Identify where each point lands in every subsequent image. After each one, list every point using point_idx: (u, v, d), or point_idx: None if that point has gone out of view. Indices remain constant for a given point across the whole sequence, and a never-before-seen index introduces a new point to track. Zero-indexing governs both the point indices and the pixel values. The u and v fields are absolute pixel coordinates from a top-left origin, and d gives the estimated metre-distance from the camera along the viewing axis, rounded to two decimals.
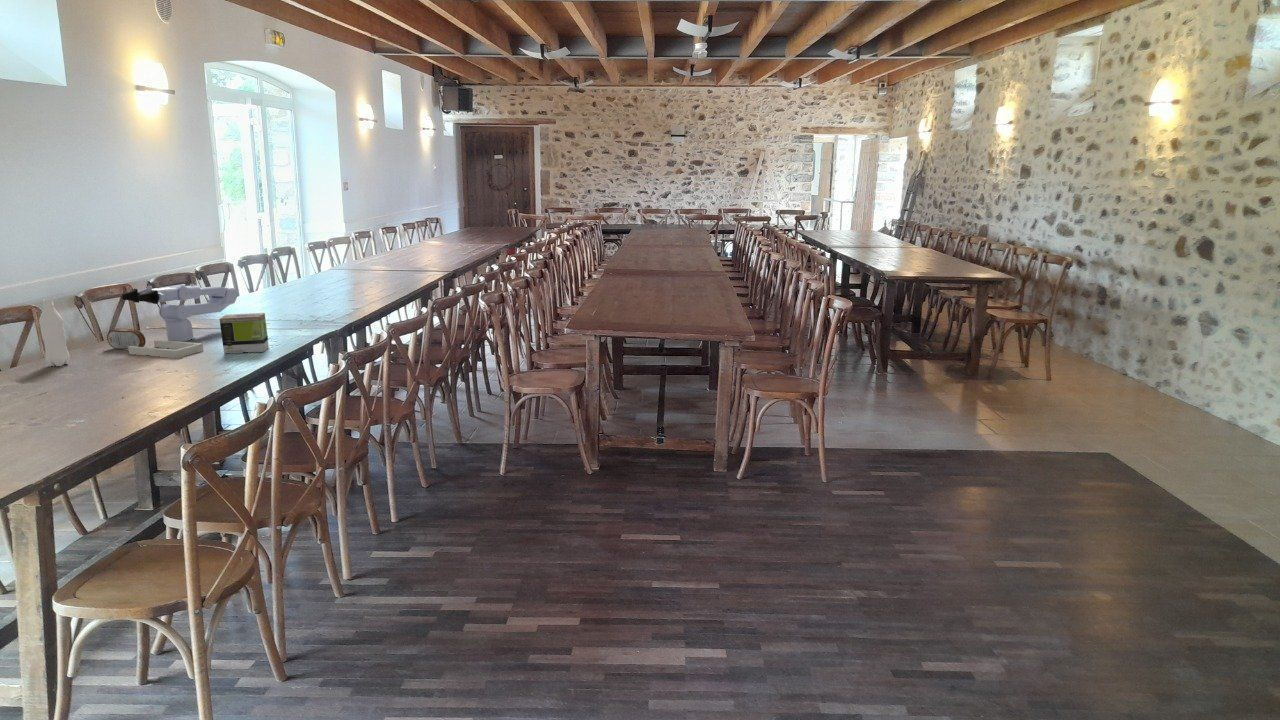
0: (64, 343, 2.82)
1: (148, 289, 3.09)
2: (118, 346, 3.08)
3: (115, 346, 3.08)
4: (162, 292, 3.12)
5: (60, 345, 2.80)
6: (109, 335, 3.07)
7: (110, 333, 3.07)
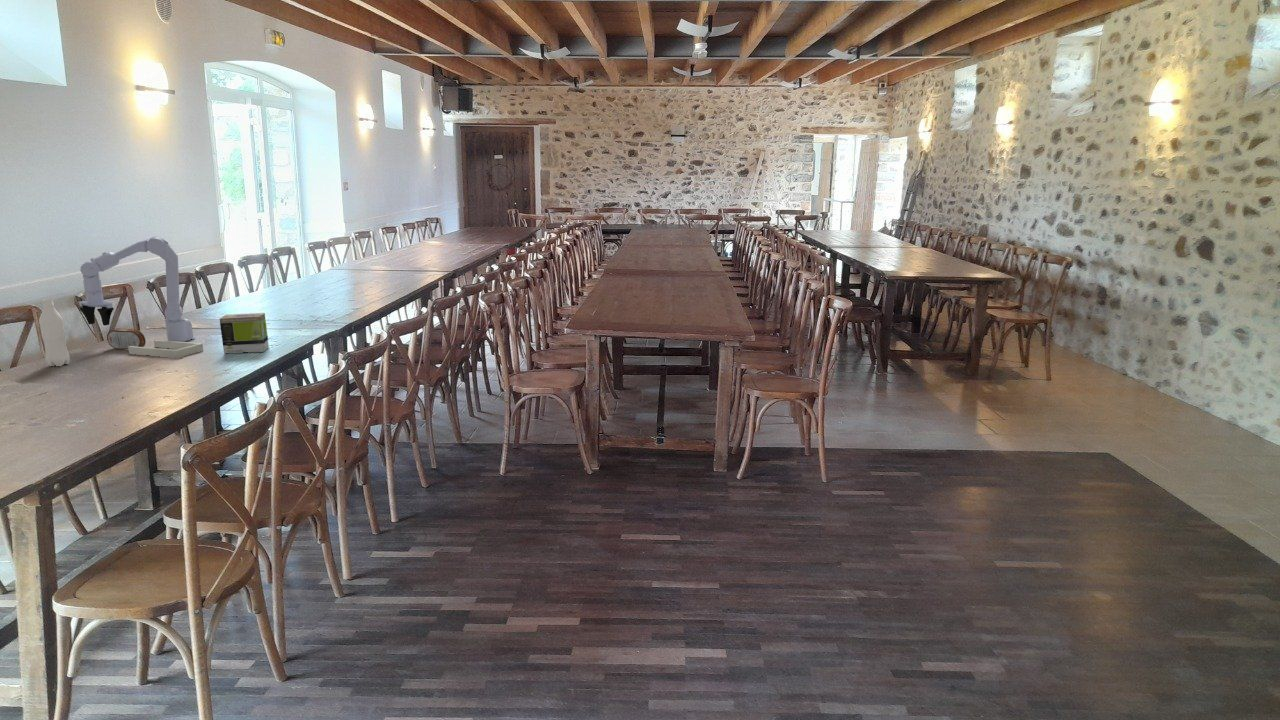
0: (64, 343, 2.82)
1: (89, 305, 3.05)
2: (118, 346, 3.08)
3: (115, 346, 3.08)
4: (96, 294, 3.05)
5: (60, 345, 2.80)
6: (109, 335, 3.07)
7: (110, 333, 3.07)
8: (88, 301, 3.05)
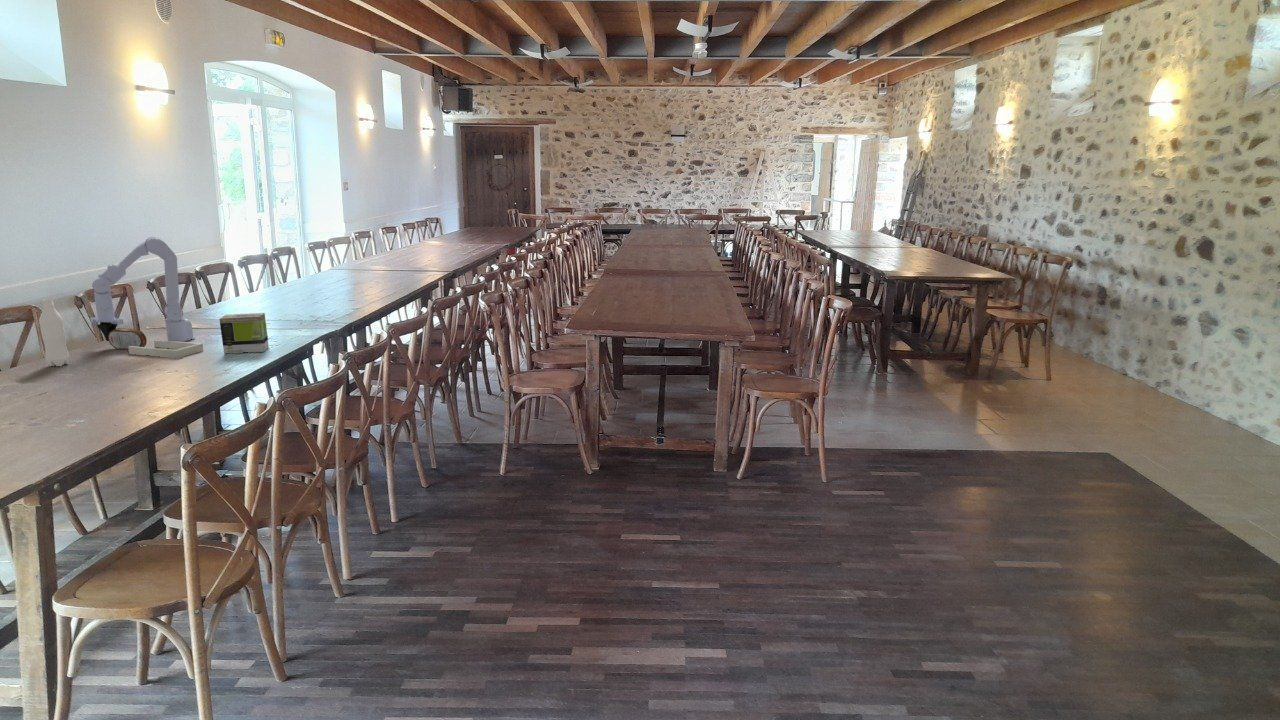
0: (64, 343, 2.82)
1: (100, 321, 3.06)
2: (119, 346, 3.08)
3: (116, 346, 3.08)
4: (107, 311, 3.05)
5: (60, 345, 2.80)
6: (110, 335, 3.07)
7: (111, 333, 3.06)
8: (99, 318, 3.05)
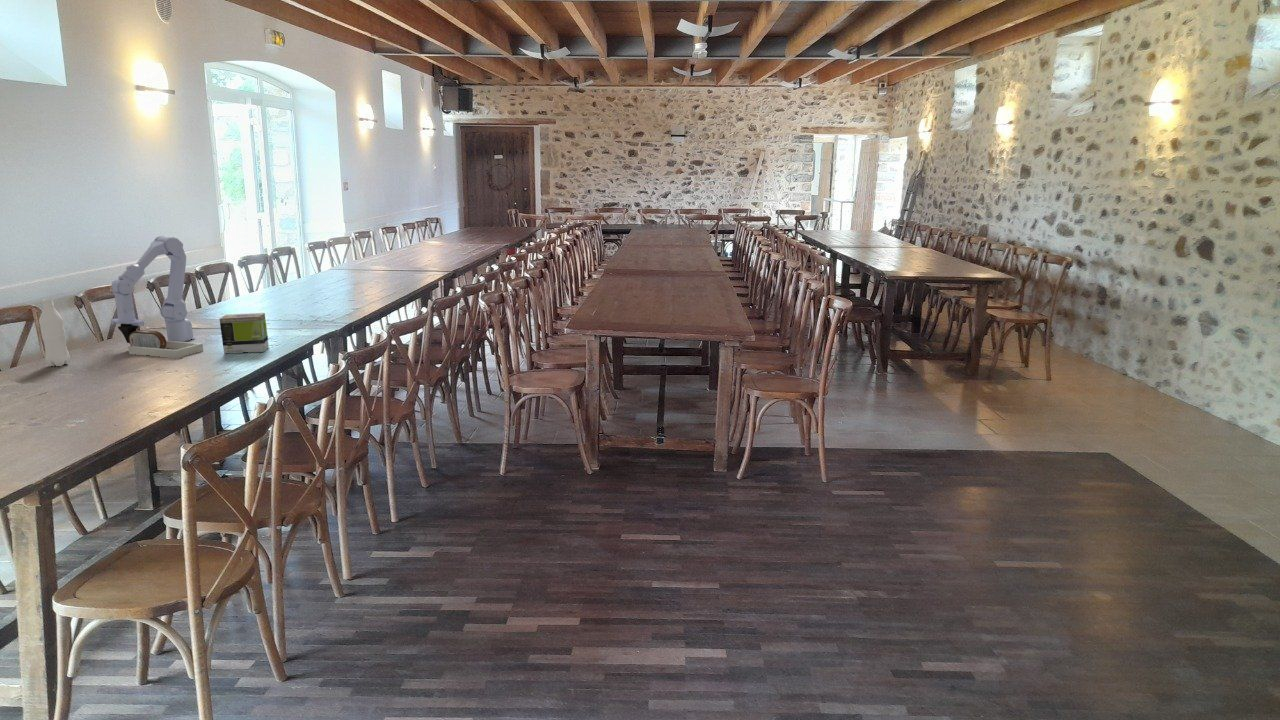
0: (64, 343, 2.82)
1: None
2: None
3: None
4: (128, 312, 3.03)
5: (60, 345, 2.80)
6: (131, 337, 3.04)
7: (132, 335, 3.04)
8: (120, 319, 3.03)
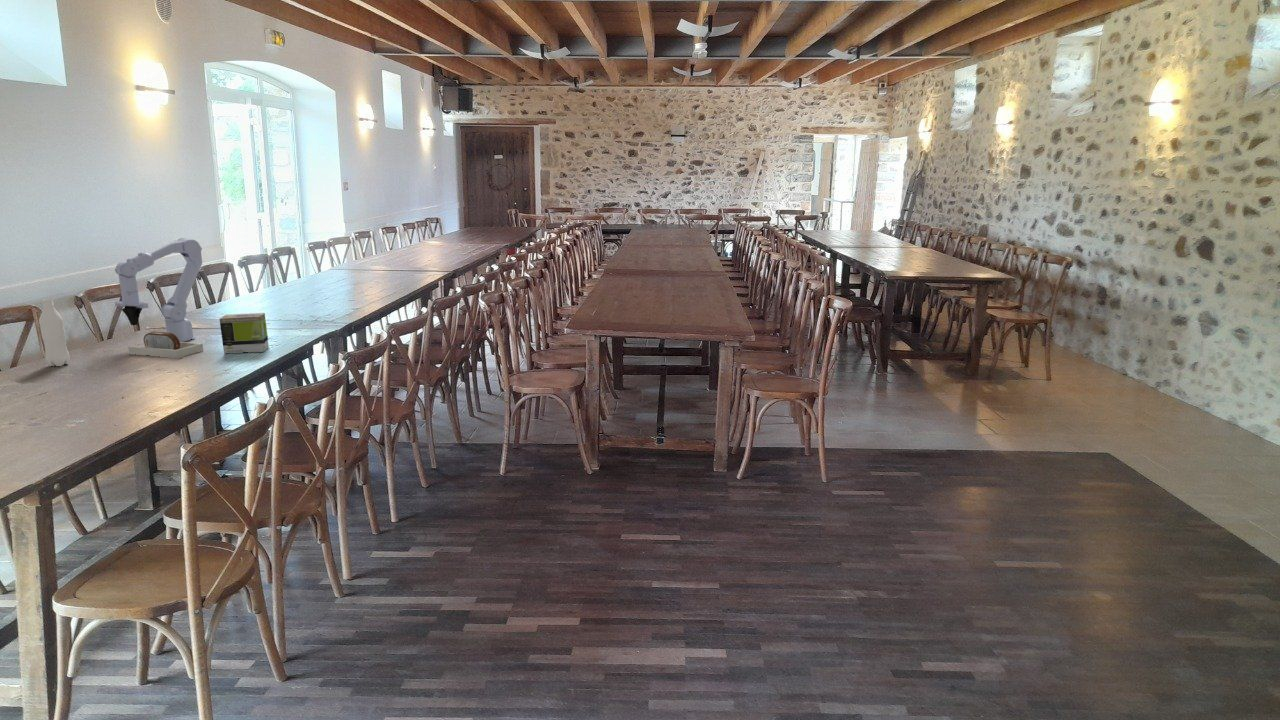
0: (64, 343, 2.82)
1: None
2: None
3: None
4: (132, 295, 3.05)
5: (60, 345, 2.80)
6: (145, 338, 3.03)
7: (146, 336, 3.02)
8: (124, 301, 3.05)
